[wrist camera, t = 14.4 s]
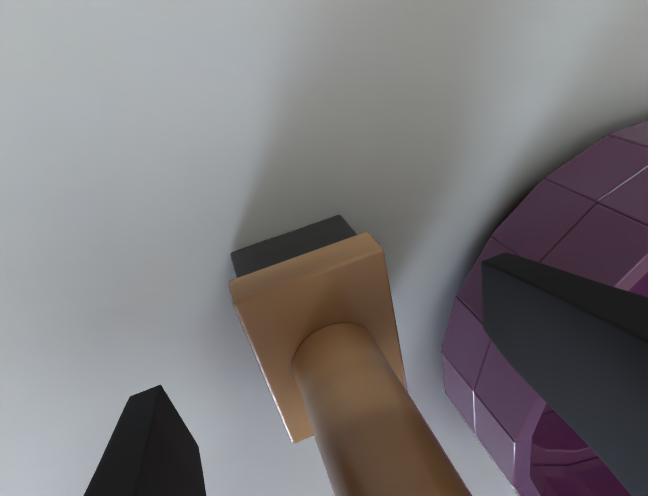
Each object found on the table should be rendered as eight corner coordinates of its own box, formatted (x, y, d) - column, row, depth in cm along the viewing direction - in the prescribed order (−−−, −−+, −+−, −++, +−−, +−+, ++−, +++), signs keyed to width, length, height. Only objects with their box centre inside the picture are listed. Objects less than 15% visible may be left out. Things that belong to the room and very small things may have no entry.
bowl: (696, 353, 22) (804, 423, 18) (446, 468, 20) (510, 574, 16) (795, 57, 15) (1010, 74, 11) (414, 190, 13) (519, 267, 9)
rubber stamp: (374, 339, 15) (621, 735, 7) (273, 379, 14) (411, 862, 6) (345, 205, 12) (703, 599, 4) (220, 248, 12) (342, 804, 4)
